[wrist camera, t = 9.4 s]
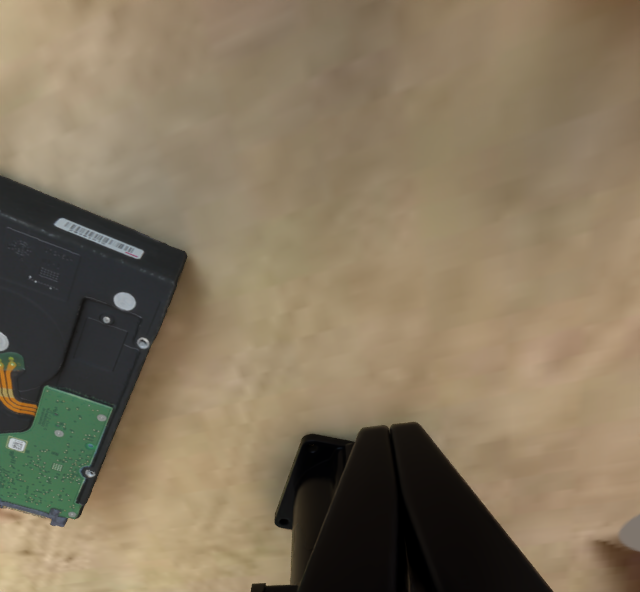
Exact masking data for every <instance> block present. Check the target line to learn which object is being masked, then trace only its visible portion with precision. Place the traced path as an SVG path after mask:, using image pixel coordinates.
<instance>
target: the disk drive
mask: <svg viewBox="0 0 640 592" xmlns="http://www.w3.org/2000/svg"><path fill="white" fill-rule="evenodd" d="M186 259H187V254H186V252H185V251H182V250H180V249H177V248H174V247H171V246H169V245H167V244H165V243H162V242H160V241H157V240H155V239H153V238H151V237H149V236H147V235H145V234H142V233H140V232H138V231H136V230H134V229H131V228H128V227H126V226H124V225H121V224H119V223H116V222H114V221H111V220H109V219H106V218H103V217H101V216H98V215H96V214H93V213H91V212H89V211H86V210H83V209H81V208H79V207H76V206H74V205H72V204H70V203H67V202H65V201H62V200H59V199H57V198H54V197H51V196H49V195H47V194H44V193H42V192H40V191H38V190H35V189H33V188H31V187H28V186H26V185H23V184H20V183H18V182H16V181H13V180H11V179H8V178H5V177H3V176H1V175H0V508H8V509H11V510H16V511H19V512H23V513H27V514H31V515H34V516H38V517H42V518H50V519H52V520H51V523H50V524H51V525H52V526H56V525H57V526H60V527H64V525H65V524H66V522H67V519H68V518H72V519H77V518H79V517H80V515H81V513H82V510H83V508H84V506H85V504H86V503H87V501H88V498H89V497H90V494H91V492H92V488H93V486H94V484H95V482H96V479H97V476H98V474H99V471H100V469H101V467H102V464H103V462H104V459H105V457H106V453H107V451H108V448H109V446H110V444H111V441H112V439H113V436H114V434H115V431H116V429H117V426H118V424H119V422H120V419H121V417H122V415H123V412H124V410H125V408H126V405H127V402H128V400H129V398H130V395H131V393H132V391H133V388H134V386H135V383H136V381H137V378H138V377H139V374H140V371H141V369H142V366H143V364H144V362H145V359H146V357H147V355H148V353H149V349H150V347H151V345H152V343H153V341H154V339H155V338H156V336H157V334H158V331H159V329H160V327H161V325H162V322H163V319H164V317H165V315H166V312H167V309H168V307H169V305H170V302H171V299H172V296H173V294H174V291H175V289H176V287H177V282H178V279H179V277H180V275H181V273H182V270H183V267H184V264H185V262H186Z"/></svg>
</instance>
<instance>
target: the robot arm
mask: <svg viewBox="0 0 640 592" xmlns="http://www.w3.org/2000/svg"><path fill="white" fill-rule="evenodd" d="M310 444H314V445H313V446H310ZM275 524H276V525H277V526H278V527H281V528H286V529H292V552H291V578H290V585H274V586H266V583H259V584H252V587H251V592H553V591H552V589H551V588H550V587H549V586H548V584H547V583H546V582H545V581H544V579H543V578H542V577H541V576H540V574H539V573H538V572H537V571H536V569H535V568H534V567H533V566H532V564H531V563H530V562H529V561H528V559H527V558H526V557H525V556H524V554H523V553H522V552H521V551H520V549H519V548H518V547H517V546H516V544H515V543H514V542H513V541H512V539H511V538H510V537H509V536H508V534H507V533H506V532H505V531H504V529H503V528H502V527H501V526H500V524H499V523H498V522H497V520H496V519H495V518H494V517H493V515H492V514H491V513H490V512H489V510H488V509H487V508H486V507H485V505H484V504H483V503H482V502H481V500H480V499H479V498H478V497H477V495H476V494H475V493H474V492H473V490H472V489H471V488H470V487H469V485H468V484H467V483H466V482H465V480H464V479H463V478H462V477H461V475H460V474H459V473H458V472H457V470H456V469H455V468H454V467H453V465H452V464H451V463H450V462H449V460H448V459H447V458H446V457H445V455H444V454H443V453H442V452H441V450H440V449H439V448H438V447H437V445H436V444H435V443H434V442H433V440H432V439H431V438H430V437H429V435H428V434H427V433H426V432H425V430H424V429H423V428H422V427H421V425H419V424H418V423H416V422H408V423H399V424H393V425H391V427H390V431H389V428H388V427H387V426H385V425H382V426H373V427H365V428H362V429H361V430H360V431H359V433H358V436H357V438H356V441H355V442H353V441H348V440H342V439H337V438H332V437H327V436H321V435H316V434H309V435H306V436H304V437H303V438H302V440H301V443H300V445H299V448H298V451H297V454H296V457H295V459H294V462H293V465H292V468H291V471H290V473H289V476H288V479H287V482H286V485H285V487H284V490H283V493H282V496H281V498H280V501H279V504H278V507H277V510H276V512H275Z"/></svg>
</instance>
